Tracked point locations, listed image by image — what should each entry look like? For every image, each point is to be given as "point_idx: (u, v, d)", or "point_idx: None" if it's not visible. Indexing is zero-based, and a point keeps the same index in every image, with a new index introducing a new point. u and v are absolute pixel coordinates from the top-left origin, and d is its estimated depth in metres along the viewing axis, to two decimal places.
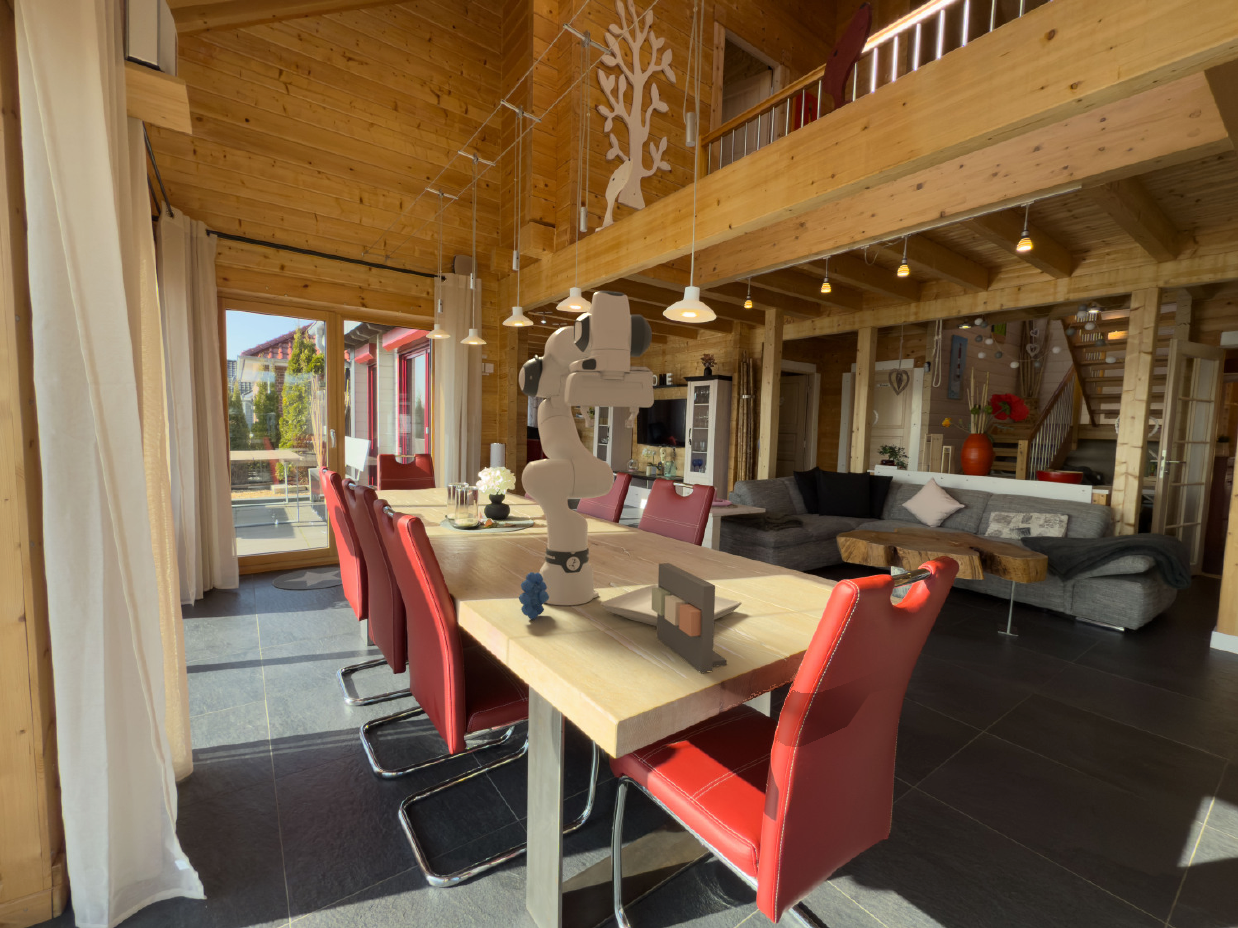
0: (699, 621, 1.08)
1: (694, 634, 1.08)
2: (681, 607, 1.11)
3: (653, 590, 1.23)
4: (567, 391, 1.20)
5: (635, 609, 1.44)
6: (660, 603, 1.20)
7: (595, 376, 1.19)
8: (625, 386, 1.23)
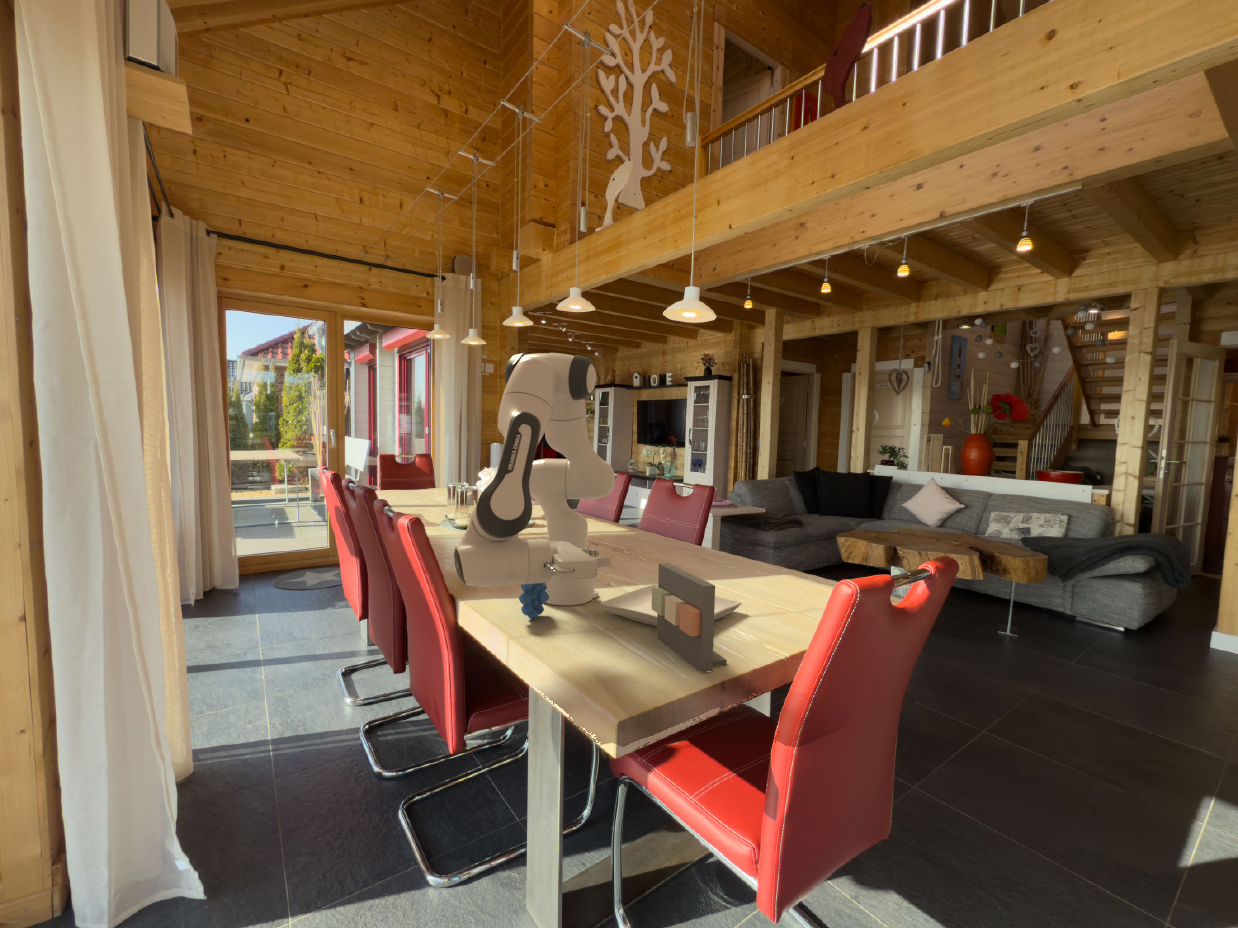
0: (699, 621, 1.08)
1: (694, 634, 1.08)
2: (681, 607, 1.11)
3: (653, 590, 1.23)
4: None
5: (635, 609, 1.44)
6: (660, 603, 1.20)
7: None
8: None
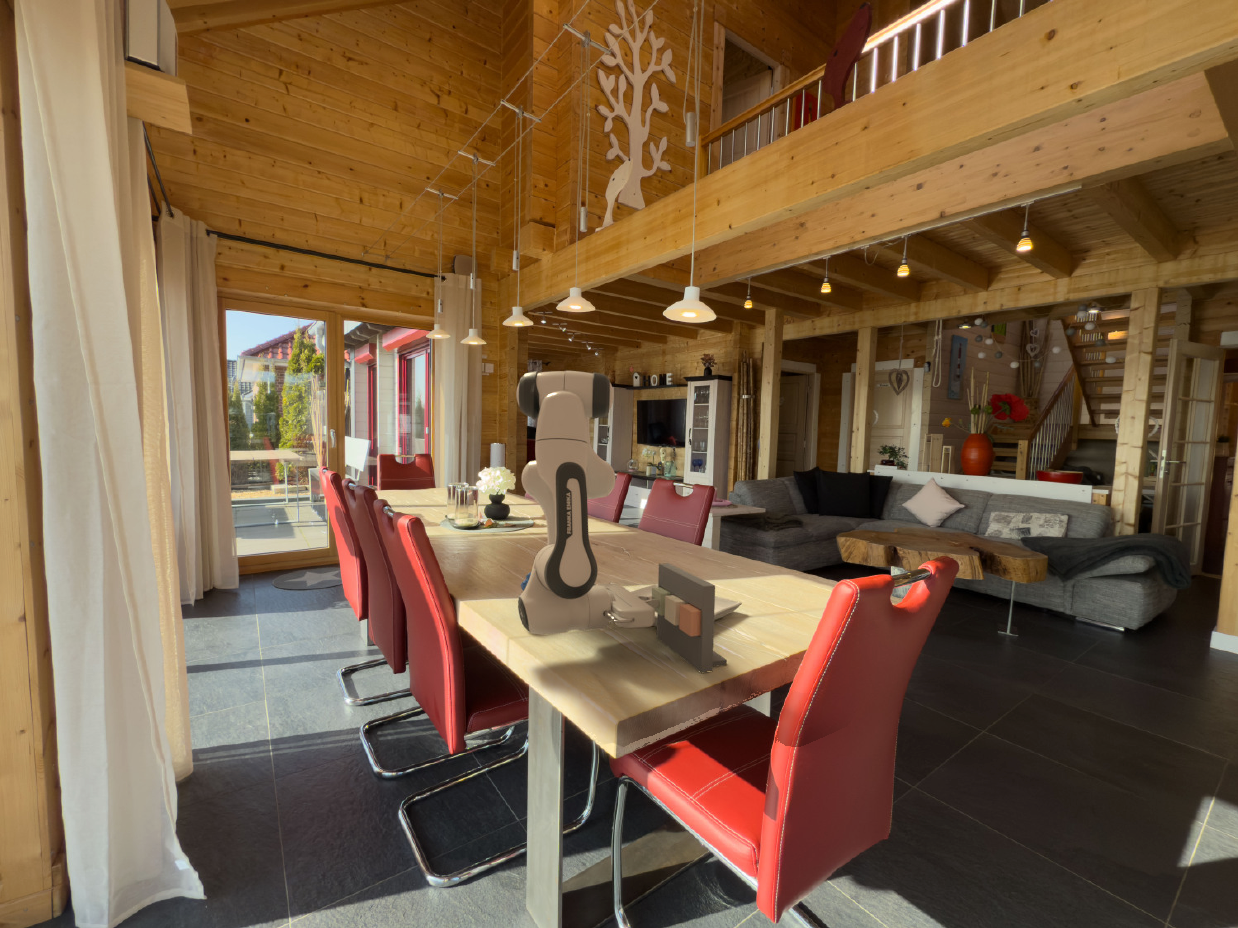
0: (699, 621, 1.08)
1: (694, 634, 1.08)
2: (681, 607, 1.11)
3: (653, 590, 1.23)
4: None
5: None
6: (660, 603, 1.20)
7: None
8: None
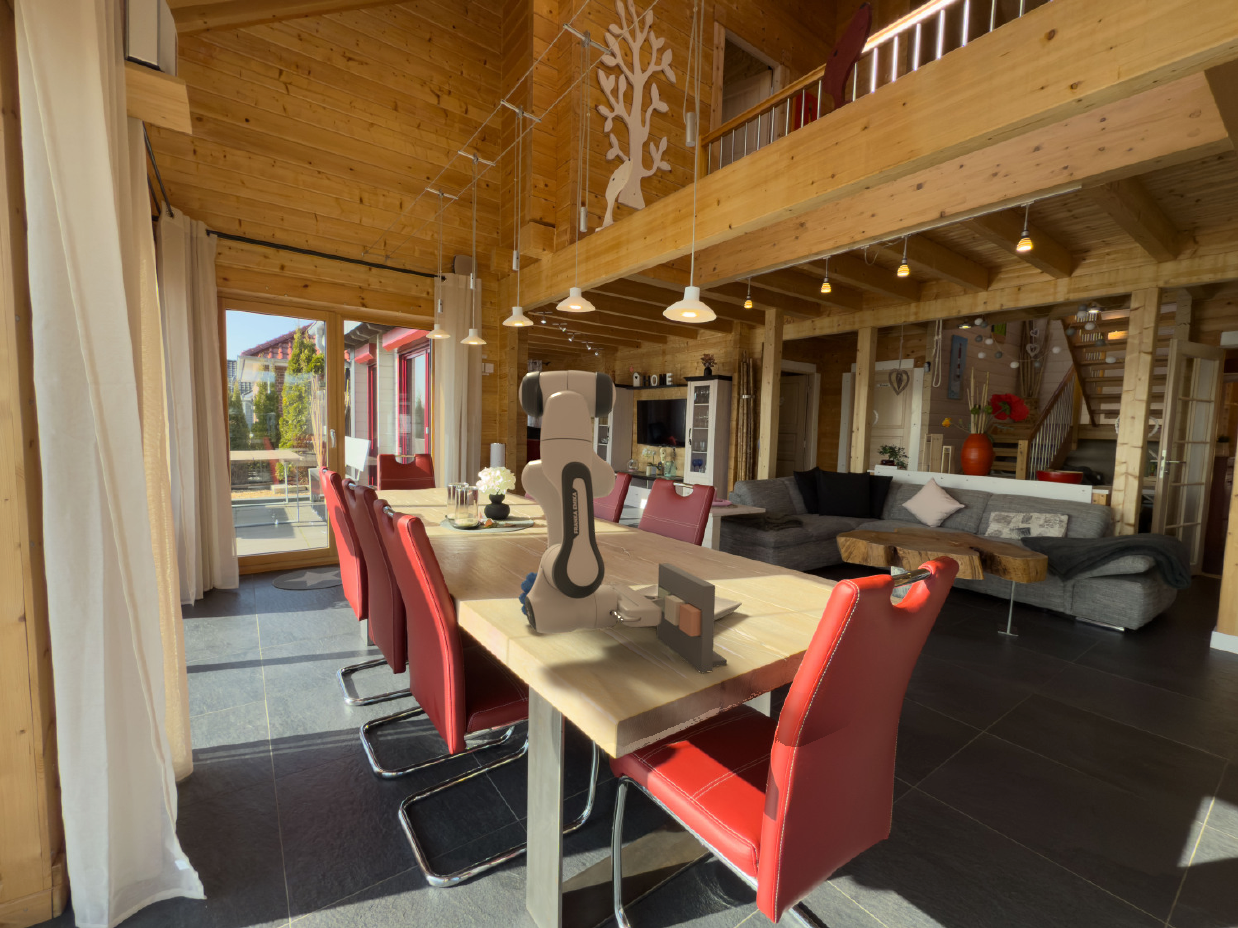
0: (699, 621, 1.08)
1: (694, 634, 1.08)
2: (681, 607, 1.11)
3: (660, 589, 1.24)
4: None
5: None
6: None
7: None
8: None
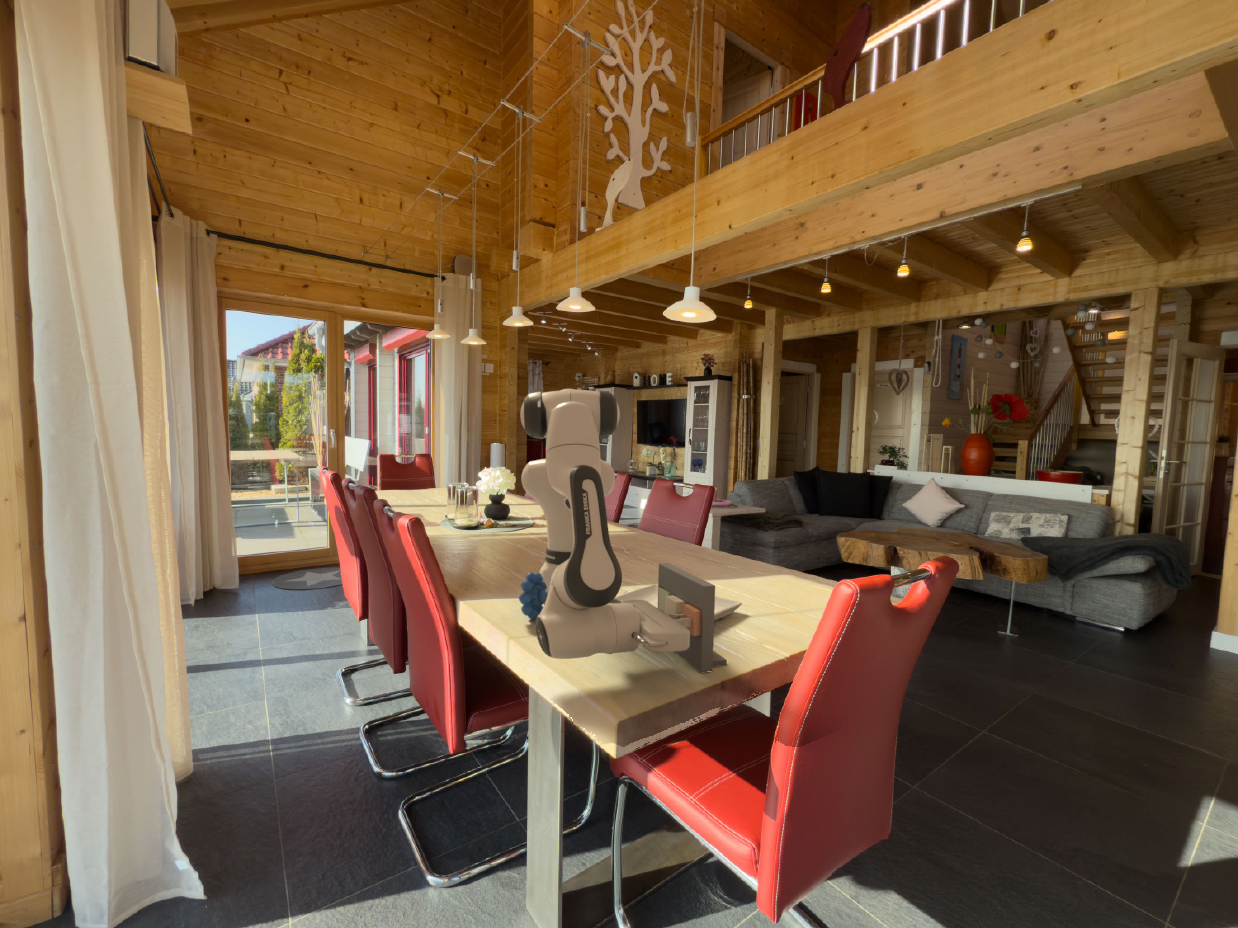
0: None
1: (697, 634, 1.08)
2: (684, 607, 1.11)
3: (660, 589, 1.24)
4: None
5: None
6: None
7: None
8: None
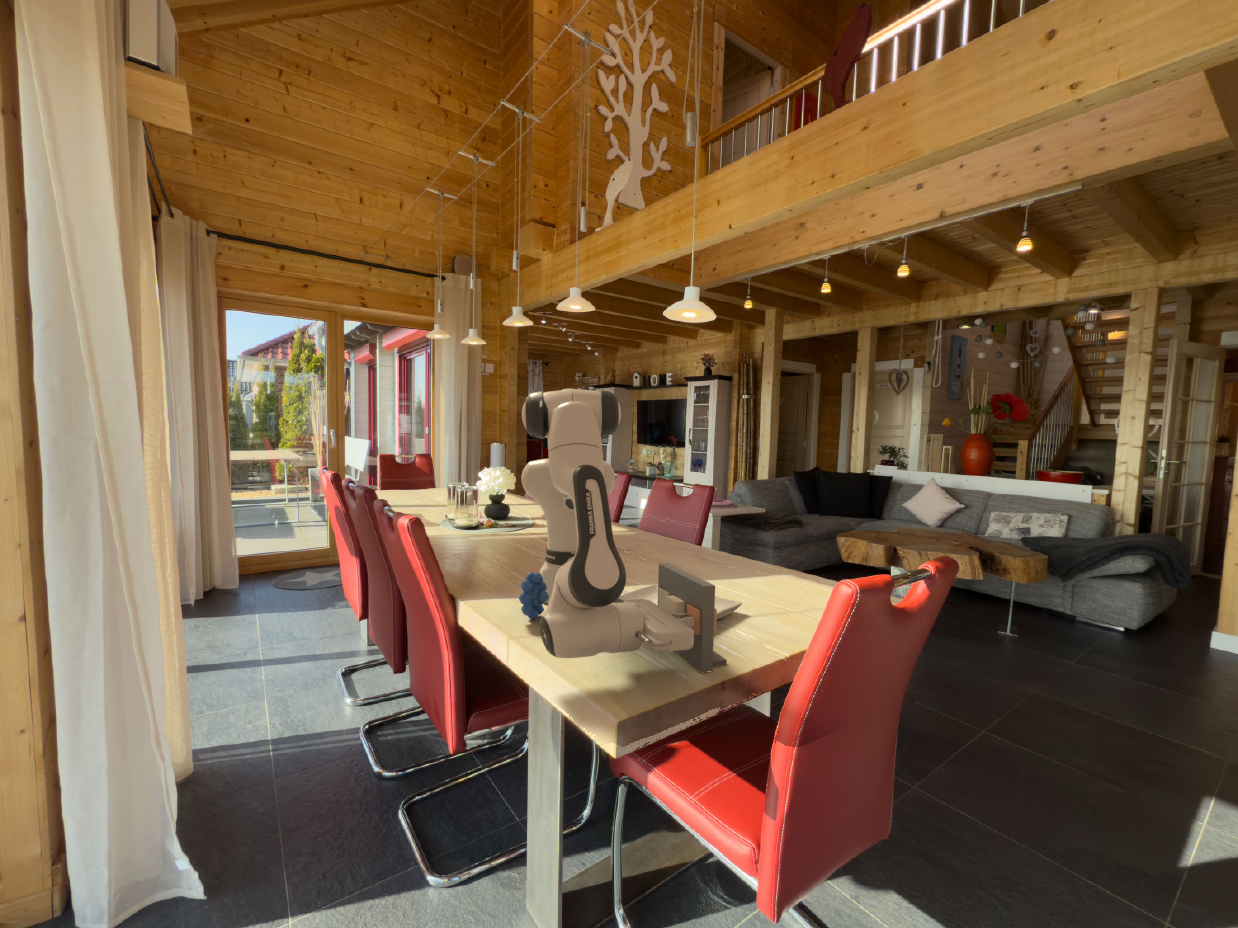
0: None
1: None
2: (688, 606, 1.11)
3: (660, 589, 1.24)
4: None
5: None
6: None
7: None
8: None
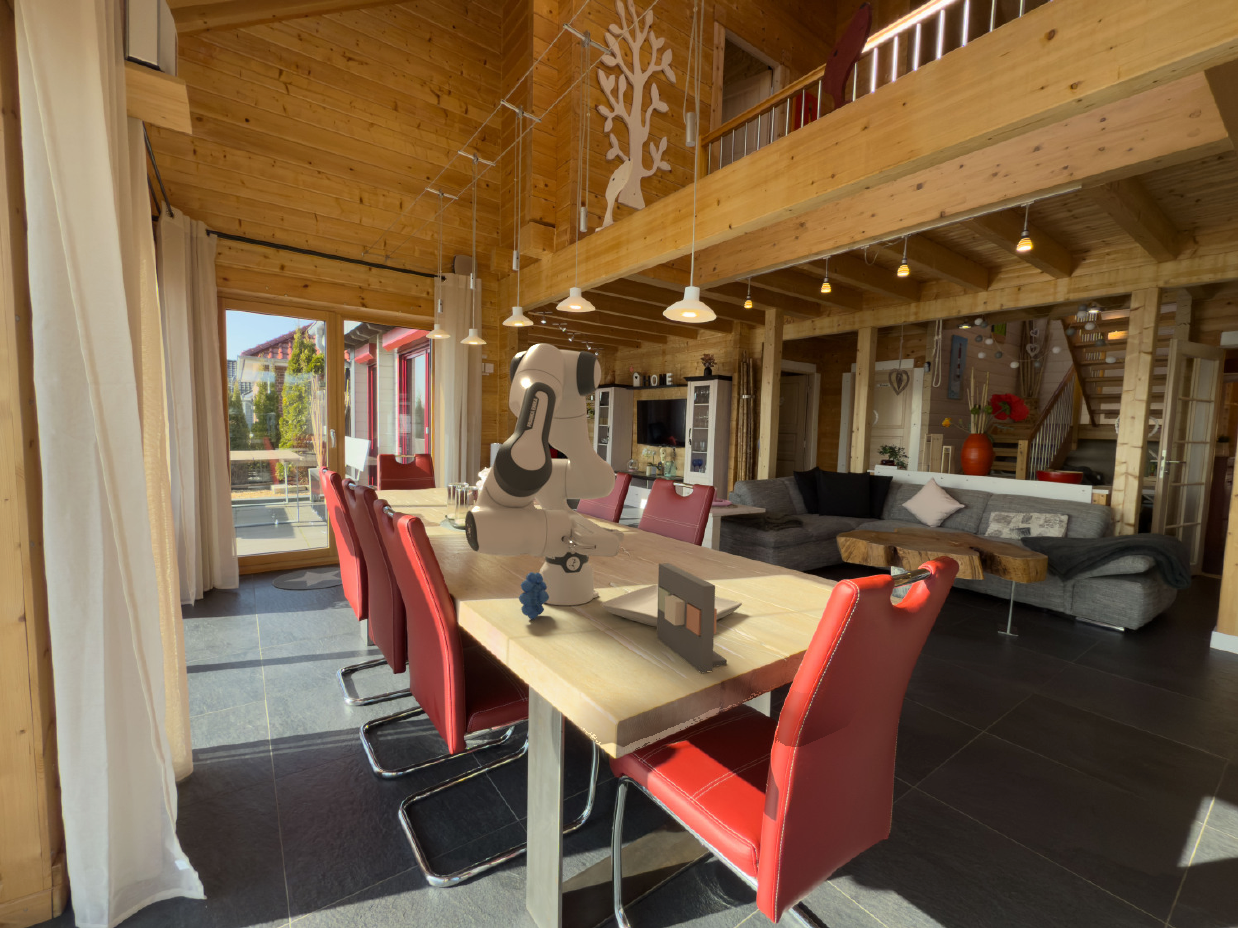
0: None
1: None
2: (688, 606, 1.11)
3: (660, 589, 1.24)
4: None
5: (635, 610, 1.44)
6: None
7: None
8: None
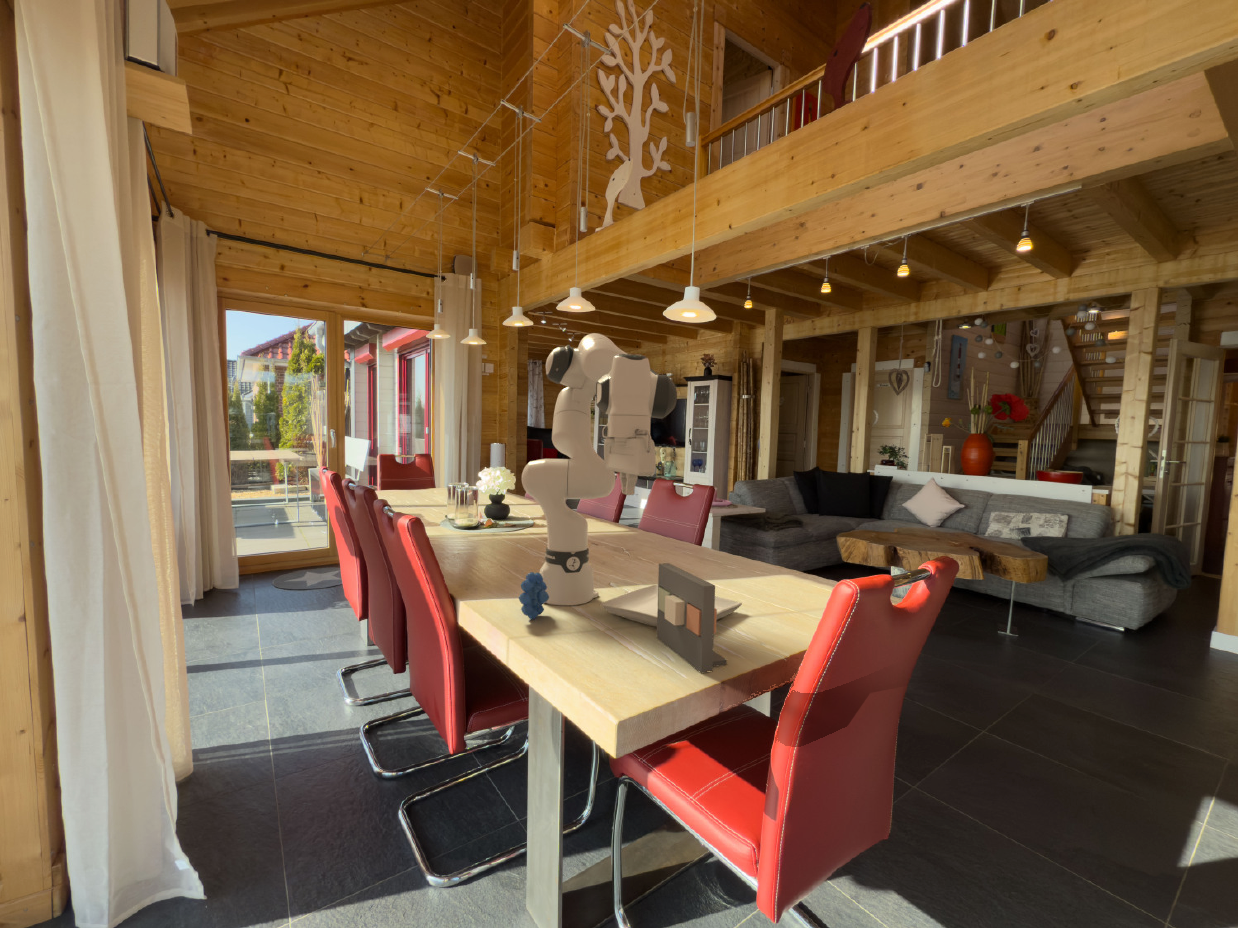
0: None
1: None
2: (688, 606, 1.11)
3: (660, 589, 1.24)
4: None
5: (635, 609, 1.44)
6: None
7: (610, 442, 1.21)
8: (627, 451, 1.15)
